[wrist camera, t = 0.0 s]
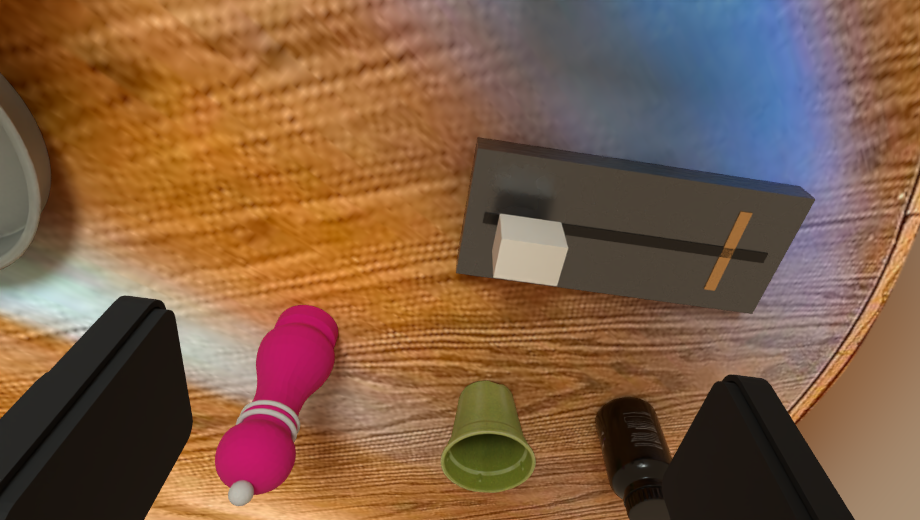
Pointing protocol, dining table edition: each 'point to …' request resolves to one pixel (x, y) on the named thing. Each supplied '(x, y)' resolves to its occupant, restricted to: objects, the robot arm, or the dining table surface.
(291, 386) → the pepper mill
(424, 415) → the dining table surface
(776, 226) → the fader console
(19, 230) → the cake pan
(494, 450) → the plant pot
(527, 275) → the fader knob
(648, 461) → the supplement bottle
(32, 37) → the dining table surface
